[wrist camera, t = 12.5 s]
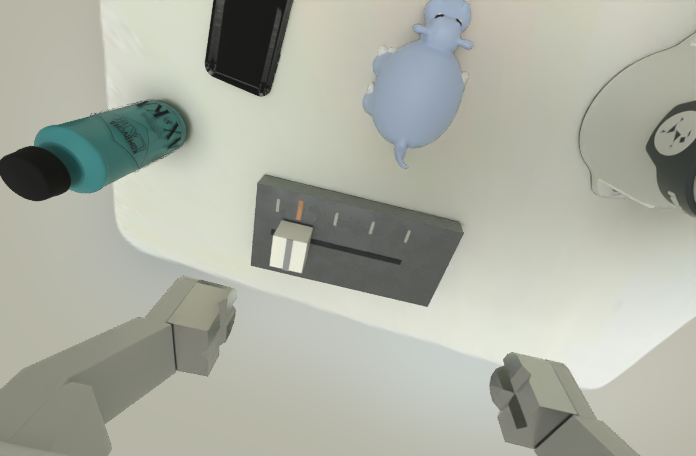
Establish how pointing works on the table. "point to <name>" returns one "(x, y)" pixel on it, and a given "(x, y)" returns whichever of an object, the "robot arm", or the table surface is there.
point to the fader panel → (357, 240)
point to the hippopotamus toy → (420, 80)
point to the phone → (246, 42)
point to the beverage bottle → (93, 150)
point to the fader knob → (290, 246)
